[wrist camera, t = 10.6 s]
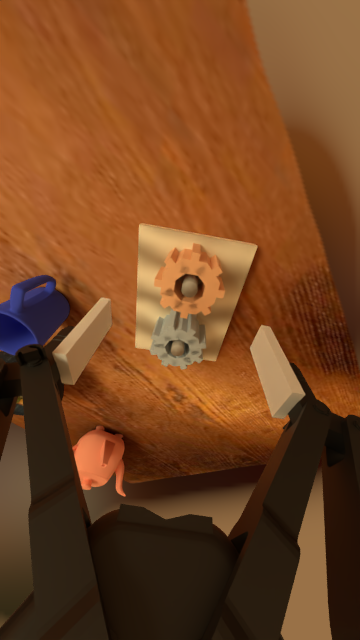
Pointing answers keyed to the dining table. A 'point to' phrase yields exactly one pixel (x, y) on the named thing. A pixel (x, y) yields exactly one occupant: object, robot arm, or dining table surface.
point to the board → (156, 258)
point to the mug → (31, 314)
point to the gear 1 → (194, 265)
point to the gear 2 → (174, 330)
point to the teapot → (100, 458)
